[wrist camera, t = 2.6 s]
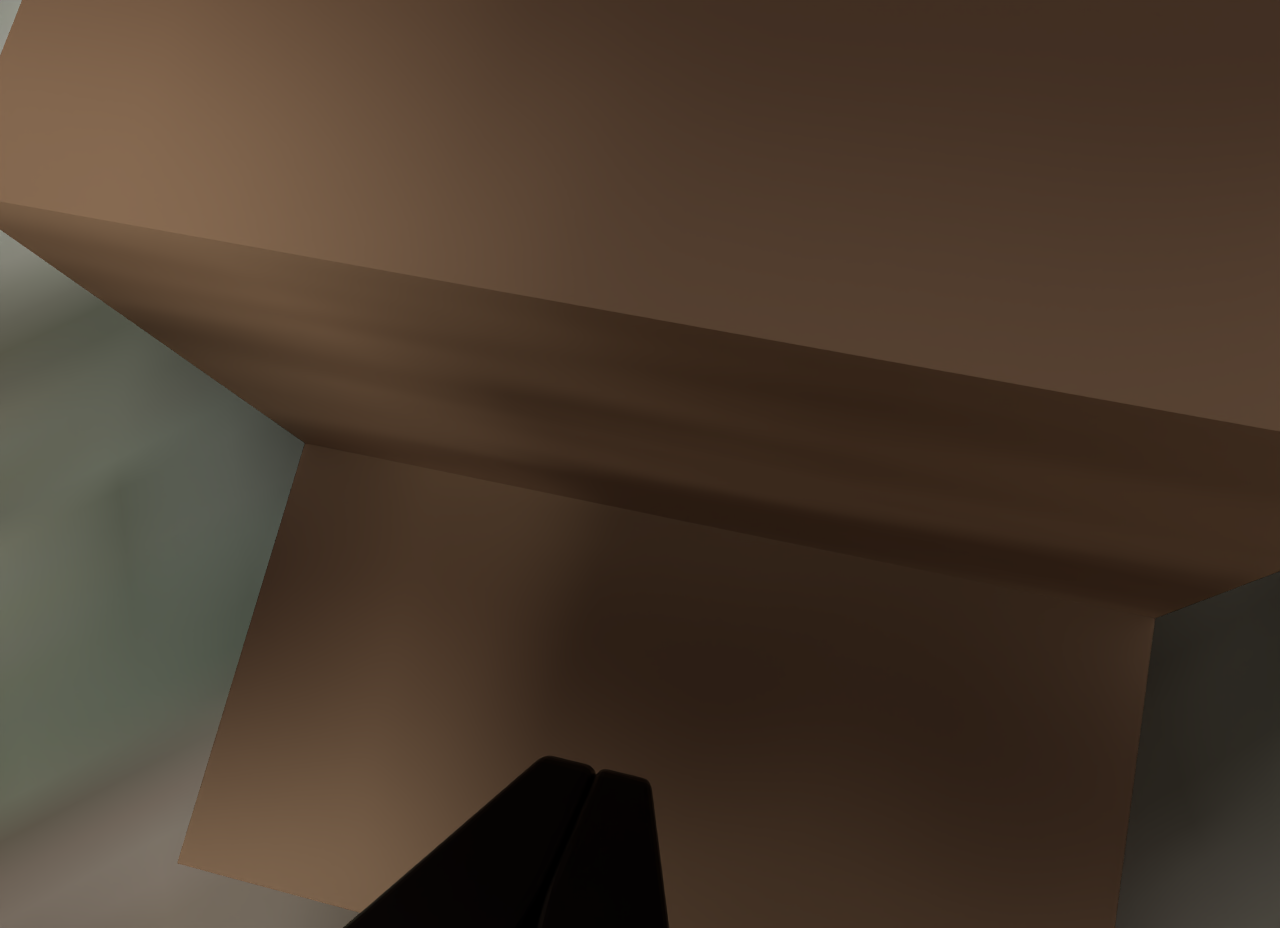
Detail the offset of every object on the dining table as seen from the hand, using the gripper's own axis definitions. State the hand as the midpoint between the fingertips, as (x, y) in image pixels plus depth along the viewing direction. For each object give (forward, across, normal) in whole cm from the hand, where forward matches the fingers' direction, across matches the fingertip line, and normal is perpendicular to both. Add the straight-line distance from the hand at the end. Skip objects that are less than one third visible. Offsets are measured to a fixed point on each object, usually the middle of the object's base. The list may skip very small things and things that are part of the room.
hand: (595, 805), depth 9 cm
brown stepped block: (+9, 0, 0) cm, 9 cm away
